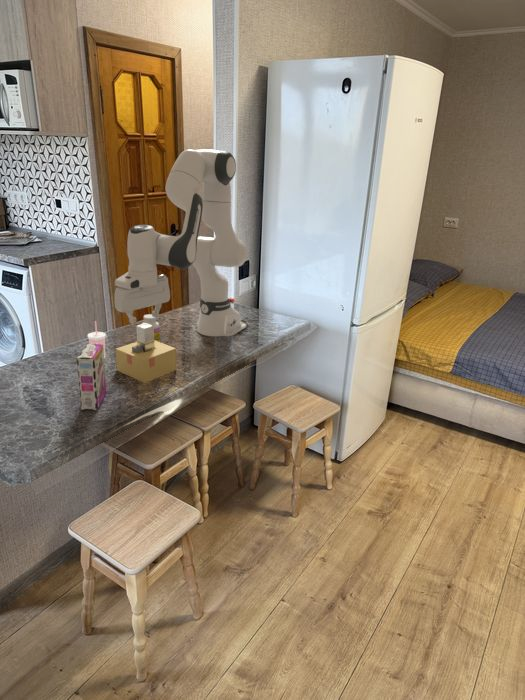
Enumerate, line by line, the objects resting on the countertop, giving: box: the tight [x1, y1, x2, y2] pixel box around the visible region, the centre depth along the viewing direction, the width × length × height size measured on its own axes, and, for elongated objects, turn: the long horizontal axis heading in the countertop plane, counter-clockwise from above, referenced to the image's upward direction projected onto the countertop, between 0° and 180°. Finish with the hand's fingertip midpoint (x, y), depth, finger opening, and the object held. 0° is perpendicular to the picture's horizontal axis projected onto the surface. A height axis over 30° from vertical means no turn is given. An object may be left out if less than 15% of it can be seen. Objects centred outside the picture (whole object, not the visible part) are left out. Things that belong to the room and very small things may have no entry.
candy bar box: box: [76, 343, 107, 411], centre depth 140 cm, size 11×5×16 cm, turn 4°
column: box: [135, 323, 155, 352], centre depth 163 cm, size 4×4×16 cm
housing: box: [115, 340, 177, 384], centre depth 164 cm, size 14×14×10 cm
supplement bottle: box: [141, 313, 161, 343], centre depth 181 cm, size 7×7×13 cm
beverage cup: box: [87, 320, 107, 360], centre depth 170 cm, size 6×6×14 cm
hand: (144, 319), depth 158 cm, fingers open, 8 cm apart
